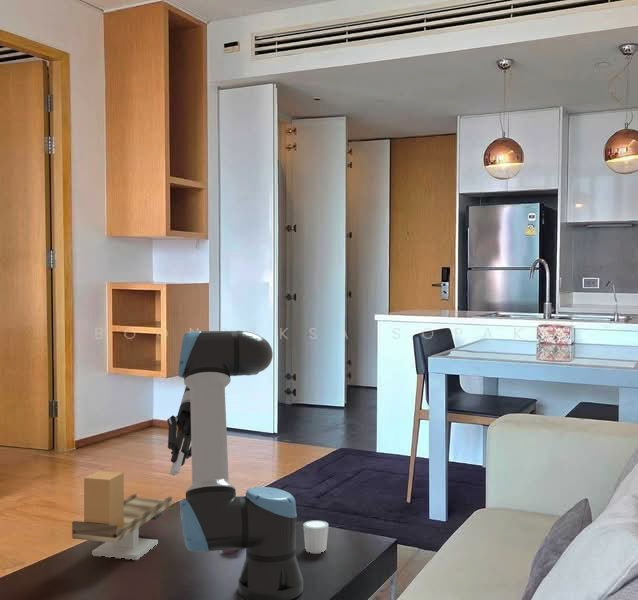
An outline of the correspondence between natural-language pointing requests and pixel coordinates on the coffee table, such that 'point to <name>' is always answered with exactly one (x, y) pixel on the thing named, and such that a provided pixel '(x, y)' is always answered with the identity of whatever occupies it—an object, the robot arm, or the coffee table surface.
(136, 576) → the coffee table surface
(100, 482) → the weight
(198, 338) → the robot arm
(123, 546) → the pivot stand
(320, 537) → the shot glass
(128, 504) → the beam
